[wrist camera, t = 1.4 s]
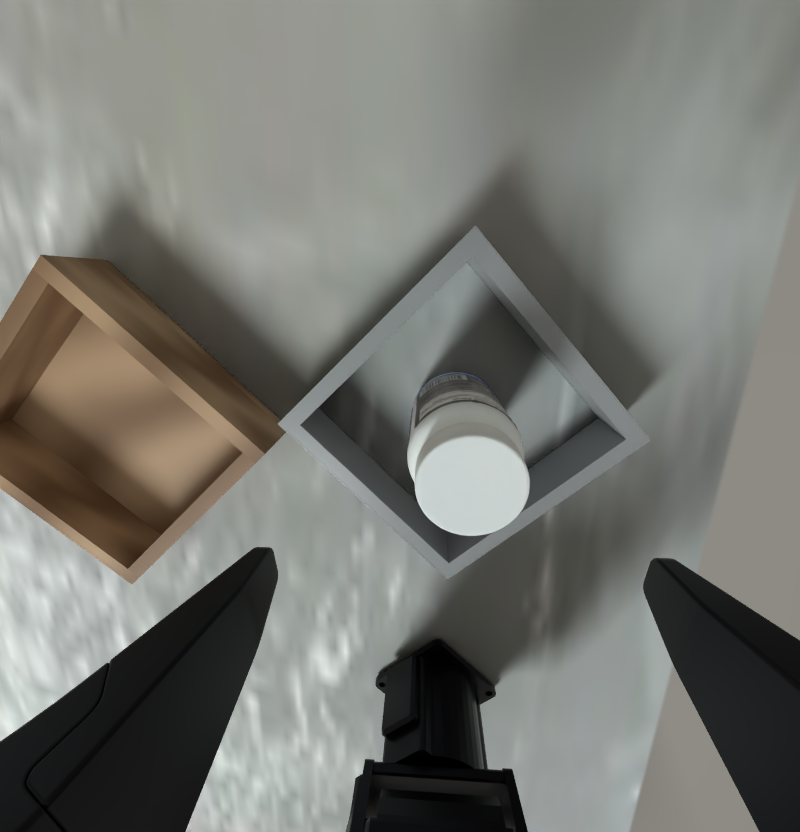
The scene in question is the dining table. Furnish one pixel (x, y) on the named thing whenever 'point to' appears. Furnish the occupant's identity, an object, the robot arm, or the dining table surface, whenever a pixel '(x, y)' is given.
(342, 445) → the bin
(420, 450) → the pill bottle
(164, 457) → the walnut bin
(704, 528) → the dining table surface
